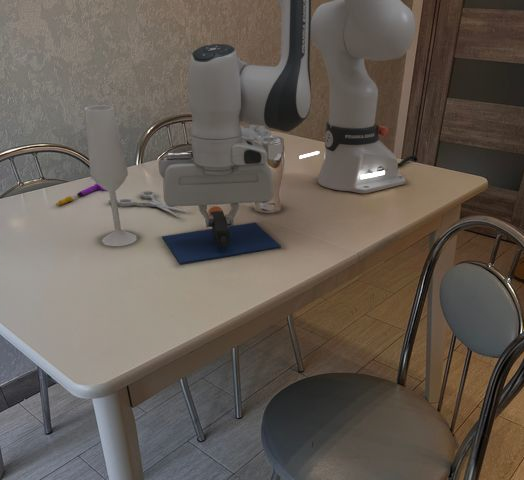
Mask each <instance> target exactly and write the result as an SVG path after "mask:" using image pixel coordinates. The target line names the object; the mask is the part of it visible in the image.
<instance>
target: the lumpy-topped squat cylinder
mask: <svg viewBox="0 0 524 480" xmlns="http://www.w3.org/2000/svg"><path fill="white" fill-rule="evenodd" d="M240 127H241V132H242V138H243V139H246V140H250V141H253V138H254V137H257V136H265V135H270V136H272V132H271V130H269V129H267V128H266V126H260V125H252V124H249V126H248V127H245V126H244V125H241V124H240Z"/></svg>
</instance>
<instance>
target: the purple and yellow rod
mask: <svg viewBox="0 0 524 480" xmlns="http://www.w3.org/2000/svg"><path fill="white" fill-rule="evenodd" d="M96 190H98V191H100V190H101V191H103V192H104V191H106V190H105V189H104V188H102V187H101V186H100V185H98V184H97V183H95V184H93V185H92V186H90V187H88V188H85V189H83V190H81V191H78V192H77V193H76V195H74V196H71V195H69V196H67V197H65V198H62V199H61V200H58V202H56V203H55V205H56V206H63V205H65V204H67V203H70V202H72V201H73V200H74V198H76V197H83V196H85V195H88V194H89V193H92V192H93V191H96Z"/></svg>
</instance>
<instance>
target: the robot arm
mask: <svg viewBox="0 0 524 480" xmlns="http://www.w3.org/2000/svg"><path fill="white" fill-rule="evenodd" d="M277 1H278V3H279V7H280V12H281V13H280V14H281V22H280V23H281V24H280V25H281V29H280V60H279V62H278V64H277V65H276V66H272V65H271V66H269V65H259V64H252V63H247V62H245V61H243V60H241V59H240V58H239V57H238V53H237V49H236V48H235V47H234V46H232V45H229V44H226V43H225V44H224V43H213V44H206V45H203V46H199V47H197V48H196V49H194V51H192V53H191V54H190V58H189V63H188V75H187V79H188V80H187V93H188V96H187V97H188V107H189V108H188V109H189V111H190V115H191V127H190V144H191V151H181V152H167V153H165V155H163V156H161V157H160V159H159V160H158V173H159V175H160V177H161V178H162V180H163V184H162V187H163V189H162V190H163V193H162V194H163V202H164V204H165V205H168V206H169V207H177V208H178V207H194V206H198V209H199V212H200V213H201V215H202V217H203V218H204V219H205V221H204V222H205V227H206V228H212V227H214V223H213V222H214V218H213V215H208V212H207V211H208V206H217V205H230V208H231V209H230V211H229V212H228V213H227V214H224V216H225V220H226V222H227V225H228V226H234V218H235V216H236V215H237V213H238V211H239V210H240V204H251V203H253V204H255V202H269V201H270V200H271V198H272V197H273V181H272V174H271V170H270V168H269V166H268V165H267V163H266V162H267V152H266V150H265V148H264V147H263V146H262V145H261V144H259V143H256V142H253V141H250V140H246V139H243V138H242V132H241V127H240V125H241V124H242V123H243V124H245V125H246V124H247V125H256V126H264V127H267V128H269V129H272V130H273V129H274V130H278V131H280V132H283V133H284V132H285V133H288V132H291V131H293V130H294V129H296V128H297V127H299V126H300V125H301V124H302V123H303V122H305V120H306V119H307V118H308V116H309V114H310V110H311V106H312V83H311V72H310V71H311V69H310V65H311V63H310V61H311V58H310V57H311V41H312V44H313V46H314V47H315V49H317V51H318V52H319V54H320V56H321V58H322V60H323V63H324V66H325V69H326V73H327V78H328V84H329V103H328V121H327V122H326V123H325V135H324V147H325V148H324V154H323V159H322V164H321V168H320V171H319V174H318V177H317V180H316V181H317V183H318V184H319V185H320V186H322V187H325V188H327V189H331V190H335V191H344V192H351V193H352V192H353V193H356V194H368V193H372V192H373V193H374V192H377V191H381V190H386V189H389V188H395V187H398V186H402V185H406V178H405V176H404V175H402V174H400V173H399V167H402V166H403V165H404V164H405V163H407V162H408V161H411V160H413V161H415V162H417V161H419V160H418V159H419V158H417V156H416V155H409V156H407V157H406V158H404V159H402V160H401V161H400V162H398V158H397V156H396V155H395V153H393V151H391V150H390V149H389V148H388V147H387V146H386V145H385V144H384V143H383V142H382V141H381V140H380V136H382V137H386V136H387V135H388V134H389V129H388V127H387V126H384V125H380V126H379V125H378V124H376V117H377V116H376V114H377V106H378V98H379V89H378V86H377V83H376V82H375V81H374V80H373V79H372V78H371V77H370V75H369V74H368V71H367V69H366V65H365V60H368V61H374V62H375V61H376V62H382V61H383V62H384V61H391V60H397V59H400V58H402V57H403V56H404V55H405V54H407V52H408V51H409V49H410V48H411V46H412V44H413V42H414V39H415V34H416V20H415V19H416V18H415V16H414V13H413V11H412V9H410V7H409V6H407V5H406V4H405V3H404V2H403V1H402V0H331V1H327V2H324V3H322V4H320V5H319V6H318V7H317V8H316V9H315V11H314V12H313V15H312V0H277ZM240 123H241V124H240ZM379 135H380V136H379ZM319 154H320V151H318V150H316V151H313V152H310V153H305V154H301V155H299V160H301V159H305V158H308V157H312V156H316V155H319Z"/></svg>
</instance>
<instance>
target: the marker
mask: <svg viewBox="0 0 524 480" xmlns="http://www.w3.org/2000/svg"><path fill="white" fill-rule="evenodd" d="M207 214H208V215H213V218H214V222H213V223H214V227H211V229H212V230H213V234H214V237H215V241H216V245H217V246H228V245H230V242H229V228H228V225H227V222H226V220H225V213H224V211H223V208H221V206H218V205H212V206H211V207H210V208H209V209H208V212H207Z"/></svg>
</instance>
